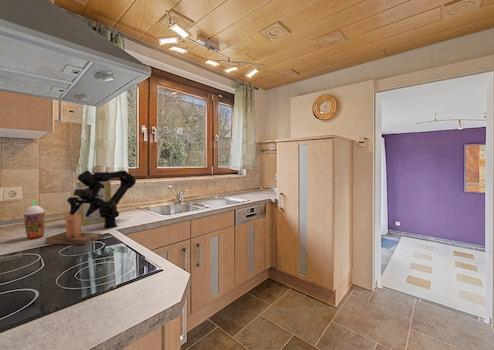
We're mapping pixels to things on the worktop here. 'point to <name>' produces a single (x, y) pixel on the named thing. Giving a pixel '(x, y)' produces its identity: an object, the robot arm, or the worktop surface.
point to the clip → (73, 226)
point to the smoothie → (34, 221)
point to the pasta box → (95, 216)
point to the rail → (74, 239)
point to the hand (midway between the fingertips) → (78, 216)
